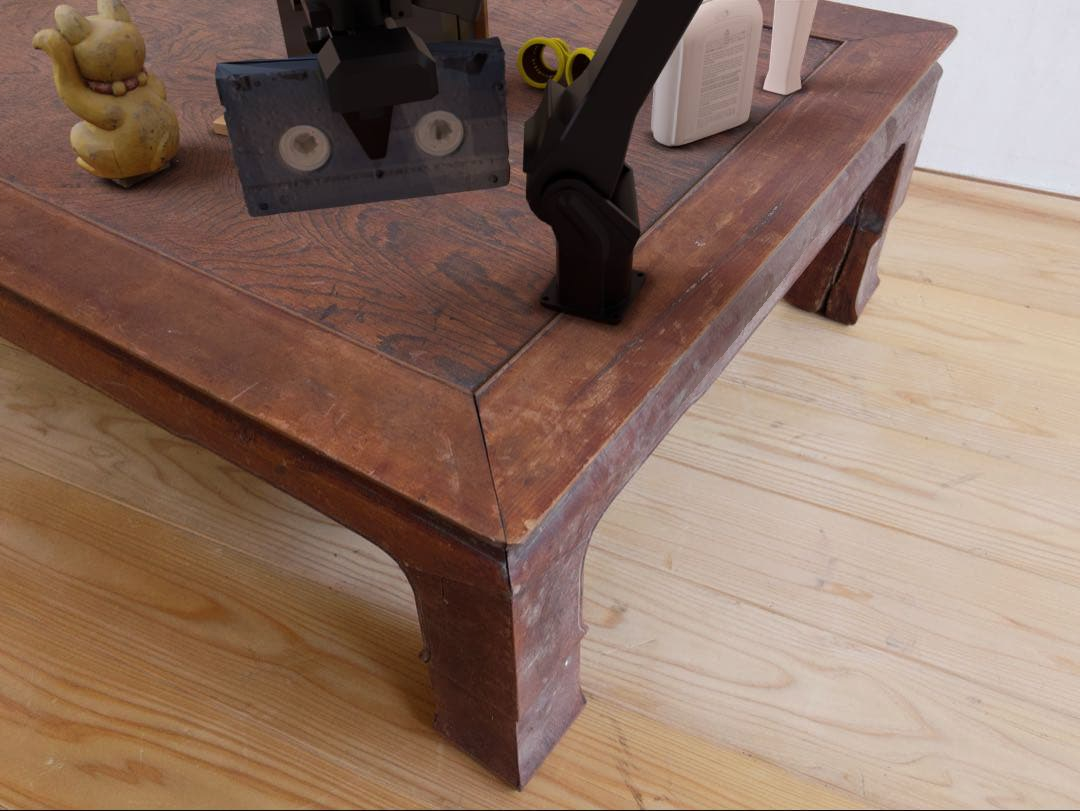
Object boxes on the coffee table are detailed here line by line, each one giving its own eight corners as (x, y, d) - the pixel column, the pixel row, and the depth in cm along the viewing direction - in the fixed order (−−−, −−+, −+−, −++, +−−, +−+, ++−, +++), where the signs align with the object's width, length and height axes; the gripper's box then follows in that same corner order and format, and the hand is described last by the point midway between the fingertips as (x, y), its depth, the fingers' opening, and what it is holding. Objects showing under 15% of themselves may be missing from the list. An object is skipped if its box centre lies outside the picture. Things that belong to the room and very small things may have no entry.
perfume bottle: (811, 82, 100) (839, -74, 90) (794, 99, 97) (821, -60, 87) (769, 72, 102) (792, -82, 92) (751, 88, 99) (773, -69, 89)
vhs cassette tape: (506, 168, 71) (500, 33, 64) (512, 190, 69) (507, 52, 62) (248, 195, 69) (214, 59, 62) (246, 218, 67) (211, 79, 60)
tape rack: (415, 177, 88) (401, 55, 80) (215, 133, 94) (184, 17, 87) (501, 92, 100) (495, -21, 92) (317, 58, 106) (298, -50, 99)
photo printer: (725, 106, 97) (741, -23, 88) (755, 123, 94) (774, -8, 86) (643, 135, 93) (651, 3, 84) (672, 153, 90) (683, 19, 82)
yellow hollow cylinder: (620, 96, 100) (627, 46, 98) (595, 107, 96) (602, 55, 94) (541, 75, 104) (545, 26, 101) (513, 84, 100) (517, 34, 98)
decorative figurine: (148, 136, 94) (97, -25, 84) (213, 155, 91) (169, -9, 81) (70, 182, 88) (5, 15, 78) (137, 204, 85) (79, 34, 75)
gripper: (519, -67, 51) (528, 194, 62) (434, -157, 64) (453, 73, 75) (306, -39, 49) (353, 228, 59) (262, -138, 62) (307, 96, 72)
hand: (373, 147), depth 67 cm, fingers closed on vhs cassette tape, 3 cm apart
